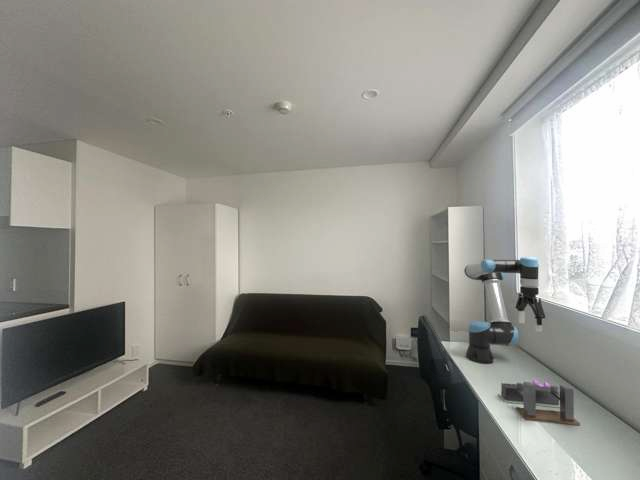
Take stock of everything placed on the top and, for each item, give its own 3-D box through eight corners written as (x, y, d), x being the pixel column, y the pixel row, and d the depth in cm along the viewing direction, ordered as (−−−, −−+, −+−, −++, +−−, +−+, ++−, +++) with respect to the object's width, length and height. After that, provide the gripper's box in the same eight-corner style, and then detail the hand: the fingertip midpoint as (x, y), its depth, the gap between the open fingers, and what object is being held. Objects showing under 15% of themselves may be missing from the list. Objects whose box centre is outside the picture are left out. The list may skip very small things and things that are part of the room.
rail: (501, 395, 125) (501, 383, 125) (552, 400, 122) (552, 387, 122) (506, 400, 121) (505, 387, 121) (558, 405, 118) (558, 392, 118)
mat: (498, 394, 126) (498, 393, 126) (553, 399, 122) (553, 398, 122) (505, 402, 120) (505, 401, 120) (563, 408, 116) (563, 407, 116)
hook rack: (511, 405, 118) (511, 374, 118) (561, 410, 115) (560, 378, 115) (525, 419, 108) (525, 386, 109) (580, 425, 105) (579, 391, 105)
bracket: (549, 399, 123) (549, 385, 123) (534, 396, 126) (534, 382, 126) (542, 386, 134) (542, 373, 134) (529, 384, 137) (529, 370, 137)
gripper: (508, 282, 149) (508, 319, 148) (537, 290, 124) (537, 334, 124) (522, 283, 147) (522, 320, 147) (554, 290, 123) (555, 335, 122)
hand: (529, 326), depth 135 cm, fingers open, 13 cm apart
